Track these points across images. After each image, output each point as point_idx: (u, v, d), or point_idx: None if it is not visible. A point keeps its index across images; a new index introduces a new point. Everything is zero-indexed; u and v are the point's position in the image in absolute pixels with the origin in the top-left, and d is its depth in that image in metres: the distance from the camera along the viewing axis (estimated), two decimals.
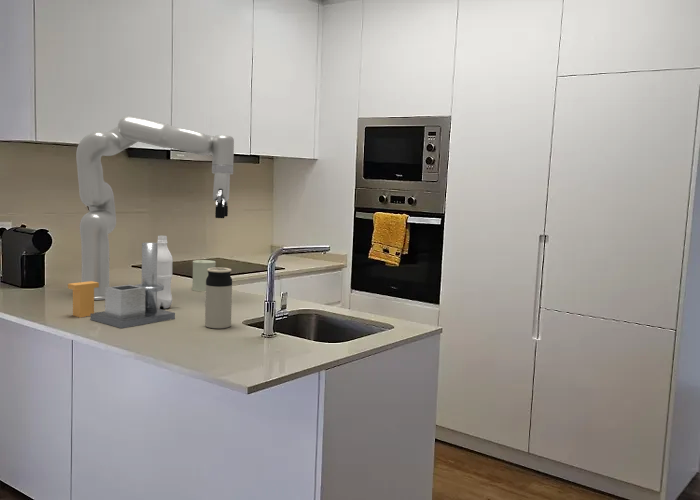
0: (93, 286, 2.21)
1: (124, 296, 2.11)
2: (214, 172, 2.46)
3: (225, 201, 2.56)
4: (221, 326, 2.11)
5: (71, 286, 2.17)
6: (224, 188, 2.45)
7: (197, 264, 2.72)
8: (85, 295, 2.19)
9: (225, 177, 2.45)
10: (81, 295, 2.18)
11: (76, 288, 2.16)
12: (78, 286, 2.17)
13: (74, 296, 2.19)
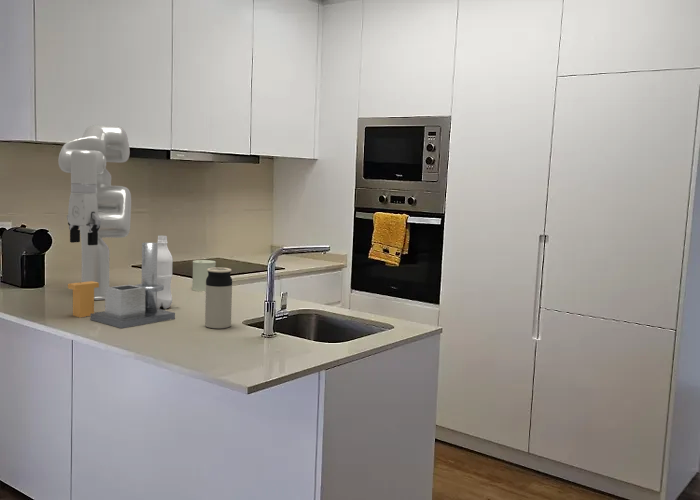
0: (93, 286, 2.21)
1: (124, 296, 2.11)
2: (81, 193, 2.13)
3: (75, 225, 2.22)
4: (221, 326, 2.11)
5: (71, 286, 2.17)
6: (96, 211, 2.16)
7: (197, 264, 2.72)
8: (85, 295, 2.19)
9: (96, 198, 2.16)
10: (81, 295, 2.18)
11: (76, 288, 2.16)
12: (78, 286, 2.17)
13: (74, 296, 2.19)
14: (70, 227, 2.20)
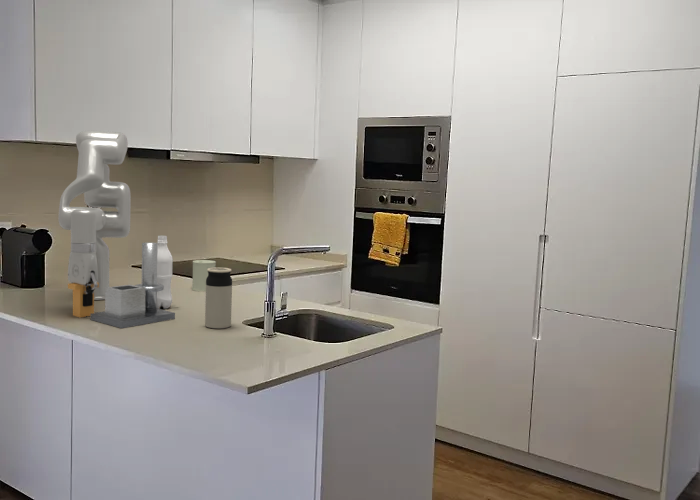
0: None
1: (124, 296, 2.11)
2: (81, 252, 2.15)
3: None
4: (221, 326, 2.11)
5: (71, 286, 2.17)
6: (95, 269, 2.18)
7: (197, 264, 2.72)
8: None
9: (95, 257, 2.18)
10: (81, 295, 2.18)
11: (76, 288, 2.16)
12: (78, 286, 2.17)
13: (74, 296, 2.19)
14: None
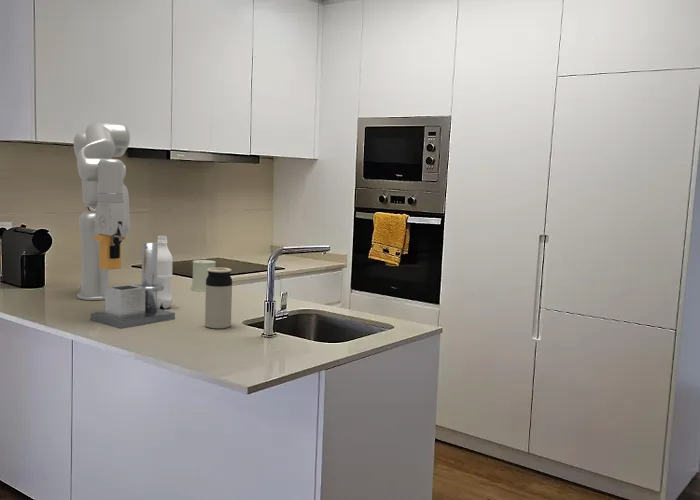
0: None
1: (124, 296, 2.11)
2: (108, 202, 2.10)
3: None
4: (221, 326, 2.11)
5: (98, 237, 2.12)
6: (123, 220, 2.12)
7: (197, 264, 2.72)
8: None
9: (123, 208, 2.13)
10: (108, 246, 2.13)
11: (103, 239, 2.11)
12: (105, 237, 2.11)
13: (101, 248, 2.14)
14: None
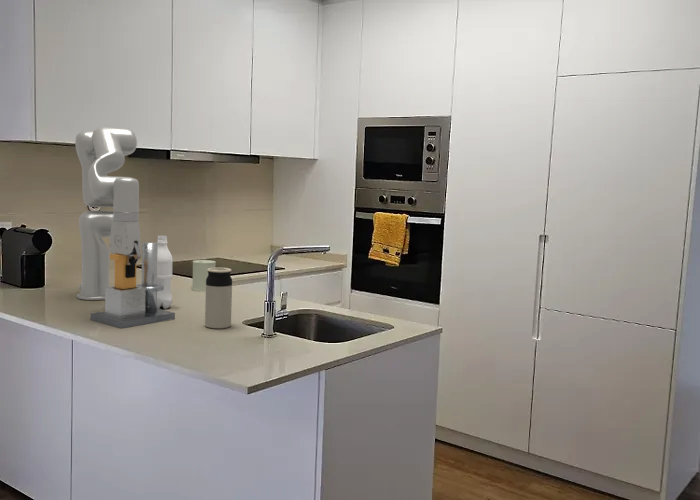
0: None
1: (124, 296, 2.11)
2: (124, 222, 2.09)
3: None
4: (221, 326, 2.11)
5: (113, 256, 2.11)
6: (139, 240, 2.12)
7: (197, 264, 2.72)
8: None
9: (138, 227, 2.12)
10: (124, 265, 2.12)
11: (119, 258, 2.10)
12: (121, 256, 2.10)
13: (116, 267, 2.13)
14: None
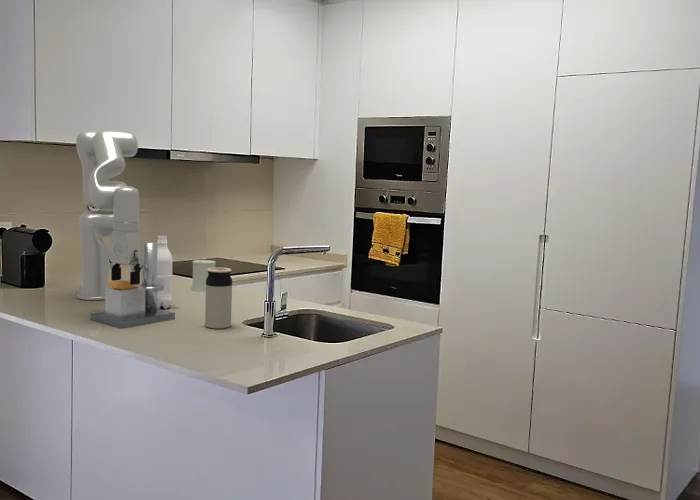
0: None
1: (124, 296, 2.11)
2: (124, 231, 2.10)
3: (116, 262, 2.18)
4: (221, 326, 2.11)
5: (112, 284, 2.11)
6: (138, 249, 2.12)
7: (197, 264, 2.72)
8: None
9: (138, 236, 2.12)
10: None
11: (117, 286, 2.11)
12: (119, 284, 2.11)
13: None
14: (111, 265, 2.17)
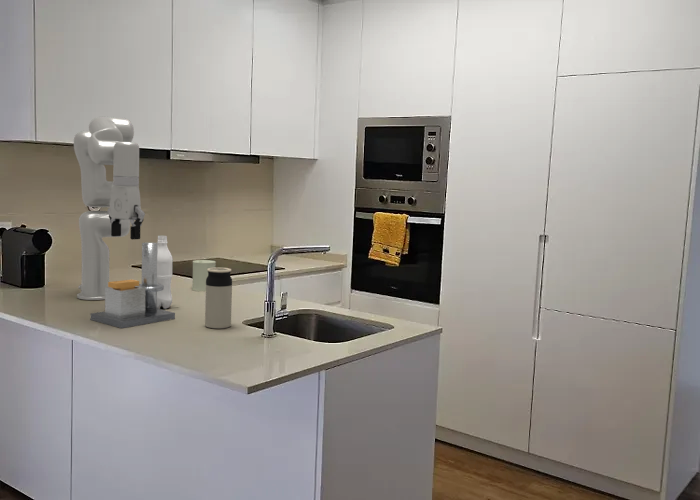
0: (133, 284, 2.15)
1: (124, 296, 2.11)
2: (124, 186, 2.08)
3: (116, 218, 2.17)
4: (221, 326, 2.11)
5: (112, 284, 2.11)
6: (139, 204, 2.10)
7: (197, 264, 2.72)
8: None
9: (138, 191, 2.11)
10: None
11: (117, 286, 2.11)
12: (119, 284, 2.11)
13: None
14: (111, 221, 2.15)
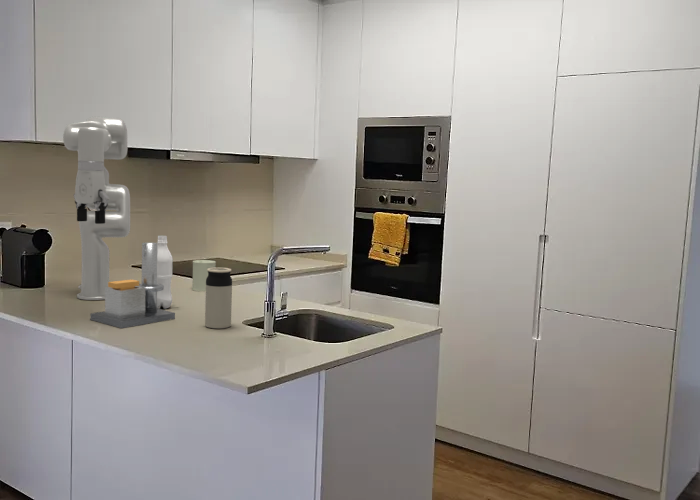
0: (133, 284, 2.15)
1: (124, 296, 2.11)
2: (88, 170, 2.10)
3: (82, 203, 2.19)
4: (221, 326, 2.11)
5: (112, 284, 2.11)
6: (103, 189, 2.12)
7: (197, 264, 2.72)
8: None
9: (103, 176, 2.13)
10: None
11: (117, 286, 2.11)
12: (119, 284, 2.11)
13: None
14: (77, 206, 2.17)
